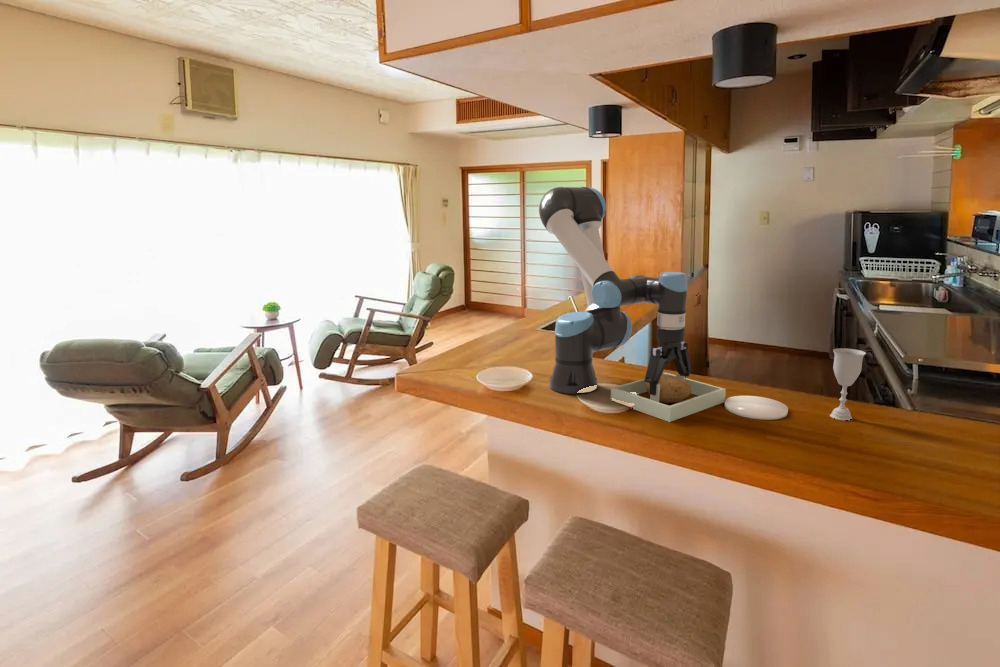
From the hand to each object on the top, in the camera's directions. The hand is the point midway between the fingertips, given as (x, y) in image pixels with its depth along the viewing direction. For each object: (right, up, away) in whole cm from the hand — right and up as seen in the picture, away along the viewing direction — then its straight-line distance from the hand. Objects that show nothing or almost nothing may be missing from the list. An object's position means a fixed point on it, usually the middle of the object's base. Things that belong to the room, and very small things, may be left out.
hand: (667, 400), depth 160 cm
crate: (0, 0, 0) cm, 0 cm away
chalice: (+42, -3, -14) cm, 44 cm away
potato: (0, 0, 0) cm, 0 cm away
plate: (+22, -1, -7) cm, 24 cm away
